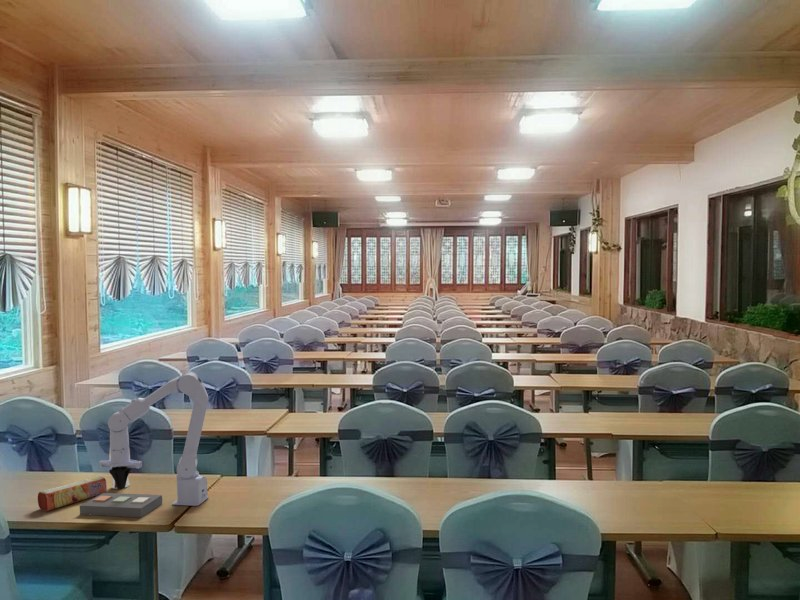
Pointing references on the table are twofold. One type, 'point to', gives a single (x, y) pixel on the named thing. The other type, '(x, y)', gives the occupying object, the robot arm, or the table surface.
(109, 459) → the beer glass
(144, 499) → the off-white button
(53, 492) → the snack package
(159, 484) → the table surface
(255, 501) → the table surface
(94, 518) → the table surface
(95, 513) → the button panel
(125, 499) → the sage button
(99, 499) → the terracotta button
